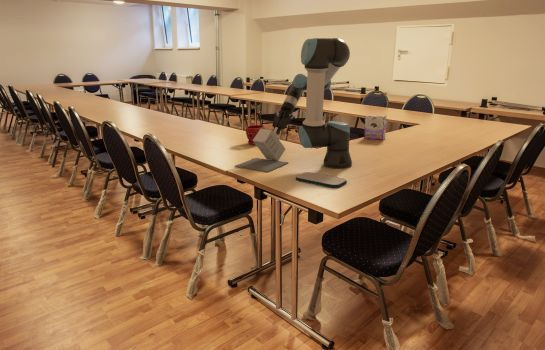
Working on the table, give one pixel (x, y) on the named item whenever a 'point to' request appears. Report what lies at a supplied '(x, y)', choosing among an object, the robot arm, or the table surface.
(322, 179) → the external hard drive
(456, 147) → the table surface
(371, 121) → the candy box
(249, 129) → the plant pot
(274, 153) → the supplement box
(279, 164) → the grey rubber mat
